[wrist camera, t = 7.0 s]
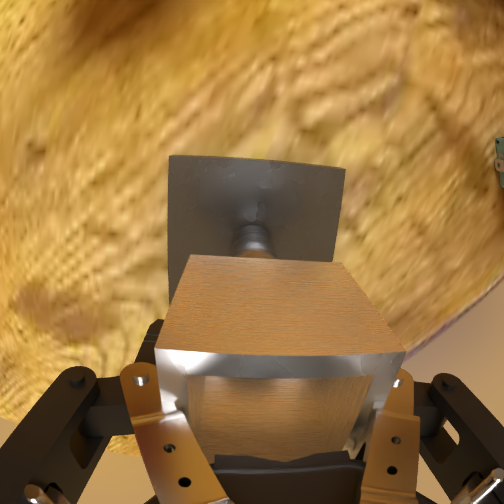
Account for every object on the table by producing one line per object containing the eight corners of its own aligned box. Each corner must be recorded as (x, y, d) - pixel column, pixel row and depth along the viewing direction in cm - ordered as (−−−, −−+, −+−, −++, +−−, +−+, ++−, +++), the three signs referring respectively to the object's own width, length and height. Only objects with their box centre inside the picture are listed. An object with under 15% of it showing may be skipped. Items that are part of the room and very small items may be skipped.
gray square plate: (172, 154, 21) (129, 166, 13) (341, 167, 22) (398, 187, 13) (172, 307, 25) (146, 382, 17) (318, 314, 26) (347, 389, 17)
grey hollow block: (190, 254, 12) (154, 348, 7) (341, 262, 13) (406, 351, 7) (195, 419, 15) (184, 513, 10) (304, 421, 16) (322, 511, 10)
